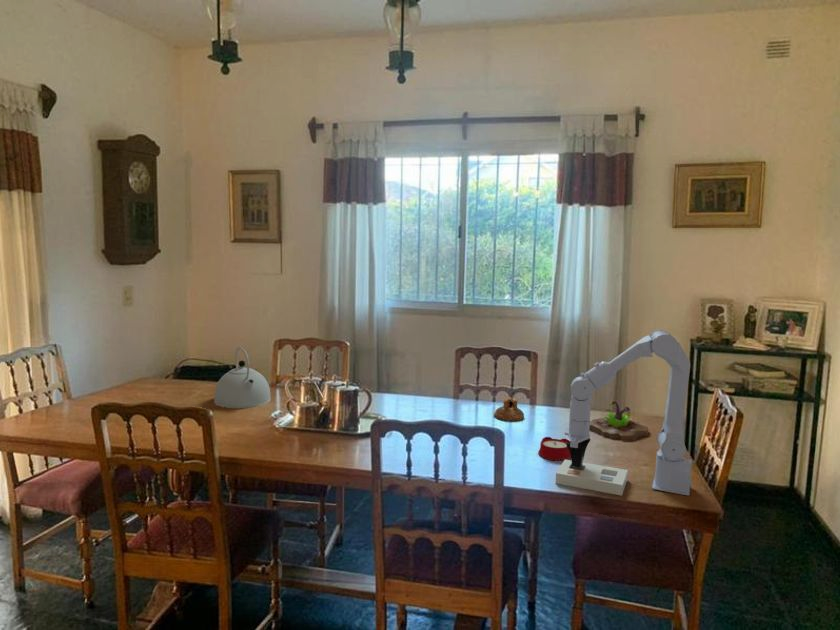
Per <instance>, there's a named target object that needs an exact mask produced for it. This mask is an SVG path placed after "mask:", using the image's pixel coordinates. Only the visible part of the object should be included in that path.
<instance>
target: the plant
mask: <svg viewBox="0 0 840 630" xmlns="http://www.w3.org/2000/svg"><path fill="white" fill-rule="evenodd" d="M609 403H610V404H609V405H610V406H614V405H615V407H616V412H615V413H612V412H610V411H609V412H608V413H606V415H607V416H606V415H603V417H600V418H599V417H598V418H595V419H592V420H590V428H589V431H590V430H591V431H590V432H593V433H594V432H595V434H597V433H598V434H597V435H600V434H601V436H602V437H603V436H605V437H604V438H607V437H609V438H608V439H610V438H611V439H610V440H619V439H620V440H619V441H621V440H632V441H634V440H633V439H635V440H637V439H639V438H638V437H640V438H642V437H641V436H643V437H647V436H648V435H649V427H648V426H646V425H643V424H641V423H639V422H636V421H632V420H633V418H629V419H628V417H630V416H631V413H630V411H631V408H630V407H628V406H625V407H623V408H622V409H621V411H620V406H619V404H618V402H617V401H615V400H610V402H609ZM624 412H626V413H625V414H624ZM647 434H648V435H647ZM646 435H647V436H646ZM636 438H637V439H636Z"/></svg>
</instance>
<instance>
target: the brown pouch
mask: <svg viewBox="0 0 840 630" xmlns="http://www.w3.org/2000/svg"><path fill="white" fill-rule="evenodd" d="M502 405H503V406H500V407H498V408H496V409H495V411H494V412H493V417H494V418H495V419H497V420H500V421H503V420H504V422H518V421H523V419H524V418H525V413H524V412H523V410H522V409H520V408H519V407H518V400H517V399H516V398H509V397H508V398H507V397H506V398H504V400H503V404H502Z"/></svg>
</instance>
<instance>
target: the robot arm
mask: <svg viewBox="0 0 840 630" xmlns="http://www.w3.org/2000/svg"><path fill="white" fill-rule="evenodd" d="M652 353H653V354H654V355H655V356H657V357H658V358H661V359H662V360H663V361H665V362H666V363H667V365H669V366H670V370H669V379H668V389H667V395H666V403H665V404H666V405H665V412H664V419H663V422H662V426H661V427H662V428H661V430H660V432H659V433H658V435H657V439H656V440H657V441H656V442H657V444H658V446H659V449H658V451H656V458H655V459H656V460H655V469H654V470H655V473H654V475H655V476H654V478H653V481H652V482H653V483H652V486H651V489H652V490H657V491H662V492H667V493H673V494H678V495H684V496H690V491H691V487H692V483H693V482H692V481H693V480H692V479H691V478H692V464H693V460H692V459H689V458H686V457H685V455H686V453H687V448H686V445H685V442H684V440H685V439H684V436H685V433H684V422H685V421H684V420H685V412H686V411H685V410H686V405H687V397H688V396H687V395H688V388H689V387H688V386H689V379H690V373H691V372H690V371H691V361H690V359H689V357H688V355H687V354H686V352H685V350H684V349H683V347H682V345H681V343H680V342H679V341H678V340H677V339H676V338H675V336H673V335H672V334H670V333H669V332H668V331H666V330H662V329H658V330H657V329H656V330H654V331H653V332H652V333H650V335H645V336H644V337H642V338H640V339H639V340H638V341H637V342H636V341H635V343H633V344H632V345H631V346H629V347H628V348H626V350H624V351H623V352H622V353H620V354H618V355H617V356H616V357H614V358H613V359H612V360H611V361H601V362H598V361H597V362H595V363H594V364H593V365H594V367H592V368H591V369H589V370H587V371H586V372H581V373H580V376H577V377H575V378H573V380H572V382H571V384H570V392H571V396H570V402H569V422H568V425H569V426H568V430H565V431H564V435H565V436H568V438H569V441H567V443H566V445H567V447H568V449H569V452H570V456H571V458H570V460H571V462H572V466H575V467H580V465H581V461H582V456H583V460H585V459H584V458H585V454H586V450H587V448H588V446H589V443H590V441H591V434H590V430H589V428H590V422H591V407H592V406H591V397H592V395H593V392H595V391H598V390H599V389H601V388H602V387H604V386H606V385H607V384H609V383H610V382H611V381H613V380H614V379H615V378H616V374H617V372H618V371H620V370H621V369H623V368H625V367H626V366H628V365H630V364H631V363H634V361H637V359H640V358H642V357H643V358H644V357H645V358H653V357H654V355H653V354H652Z"/></svg>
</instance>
